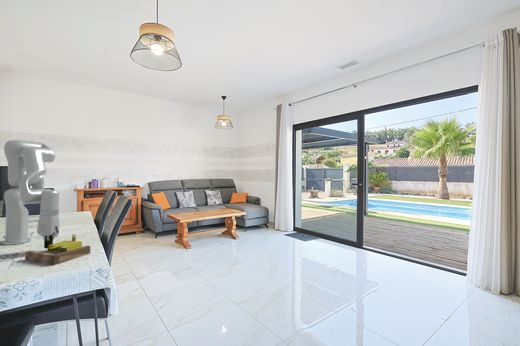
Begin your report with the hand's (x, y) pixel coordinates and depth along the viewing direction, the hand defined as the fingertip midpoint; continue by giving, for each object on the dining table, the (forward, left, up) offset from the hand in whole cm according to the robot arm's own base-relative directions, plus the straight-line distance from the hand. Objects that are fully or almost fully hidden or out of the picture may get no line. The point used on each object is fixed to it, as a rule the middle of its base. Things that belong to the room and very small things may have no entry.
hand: (48, 247), depth 133 cm
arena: (+14, -5, -2) cm, 15 cm away
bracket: (+7, +2, -3) cm, 8 cm away
